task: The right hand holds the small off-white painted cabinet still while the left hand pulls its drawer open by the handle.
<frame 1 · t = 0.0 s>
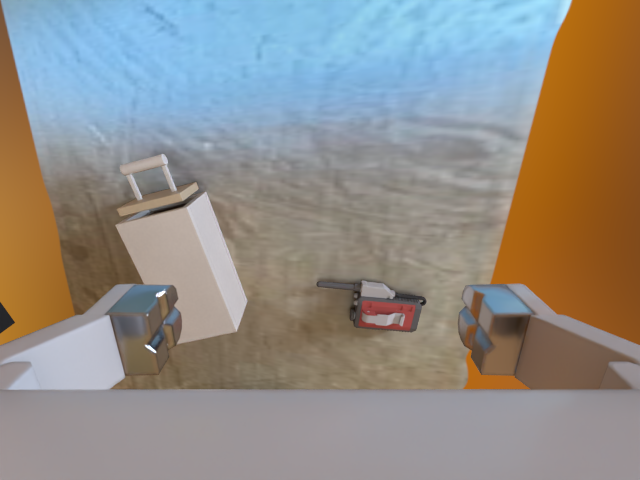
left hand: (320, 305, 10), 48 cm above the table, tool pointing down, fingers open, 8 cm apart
cabinet: (198, 256, 62), on the table
walkie-talkie: (368, 300, 66), on the table
drawer: (177, 238, 56), point 5 cm above the table, slide at 0.8 cm
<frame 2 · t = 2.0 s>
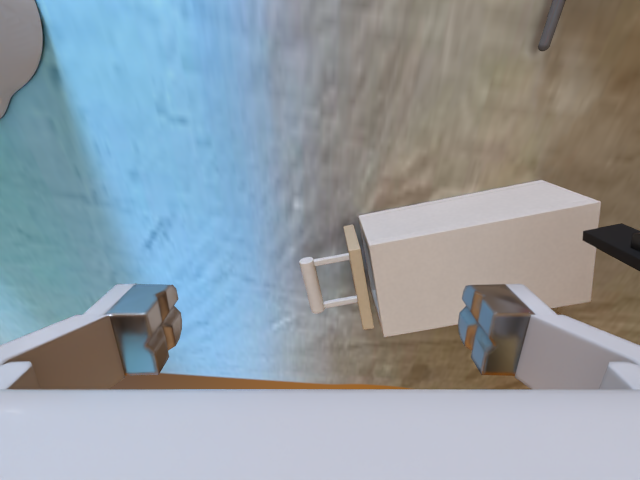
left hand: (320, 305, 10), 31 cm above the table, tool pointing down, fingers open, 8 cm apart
cabinet: (451, 239, 44), on the table
drawer: (417, 264, 40), point 5 cm above the table, slide at 0.8 cm
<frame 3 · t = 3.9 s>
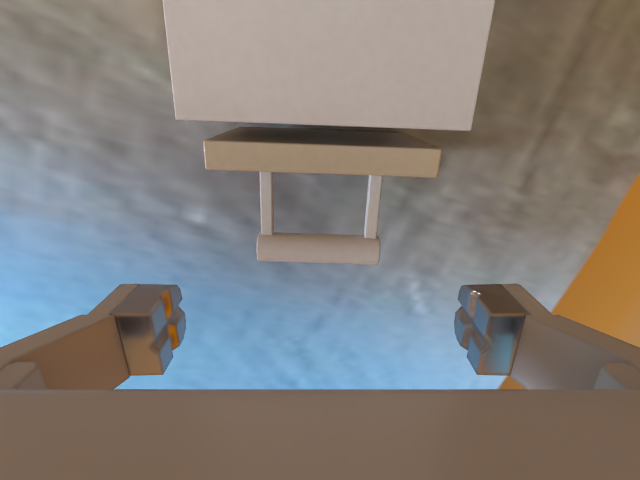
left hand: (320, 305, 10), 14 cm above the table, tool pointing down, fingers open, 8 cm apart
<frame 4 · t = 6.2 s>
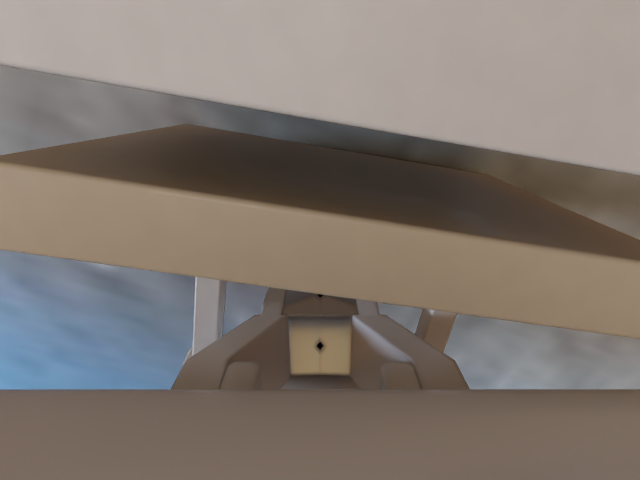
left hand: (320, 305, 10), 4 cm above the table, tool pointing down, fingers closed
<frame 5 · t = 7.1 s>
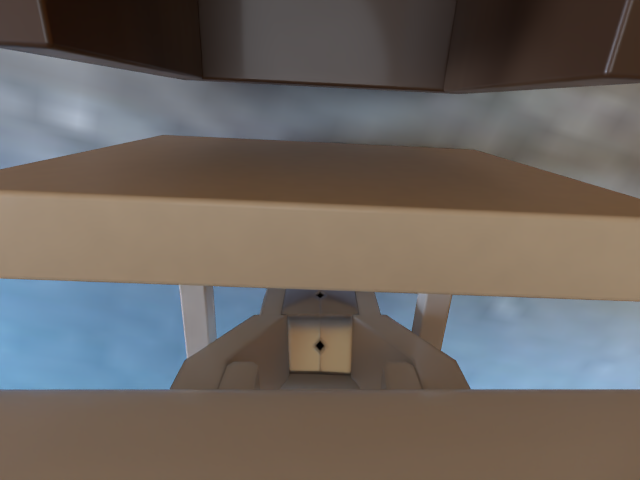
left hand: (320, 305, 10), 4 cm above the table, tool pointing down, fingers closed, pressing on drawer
when the right hand's fingers open (5 cm above the table, at t = 8.8 s): cabinet stays where it is, on the table.
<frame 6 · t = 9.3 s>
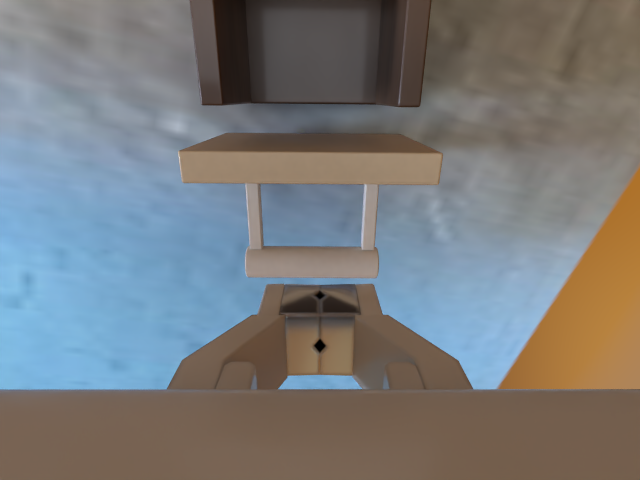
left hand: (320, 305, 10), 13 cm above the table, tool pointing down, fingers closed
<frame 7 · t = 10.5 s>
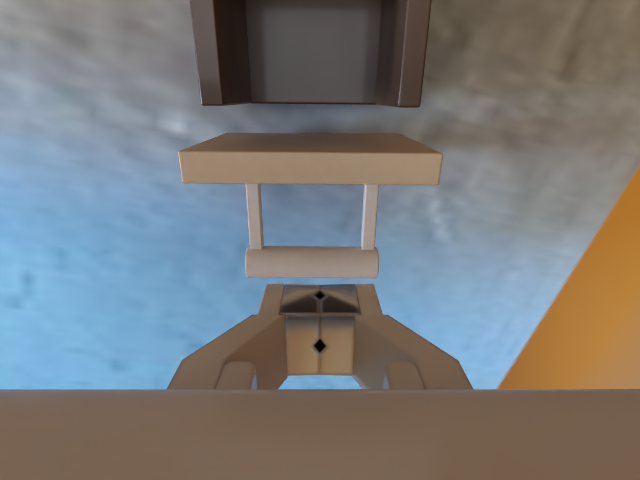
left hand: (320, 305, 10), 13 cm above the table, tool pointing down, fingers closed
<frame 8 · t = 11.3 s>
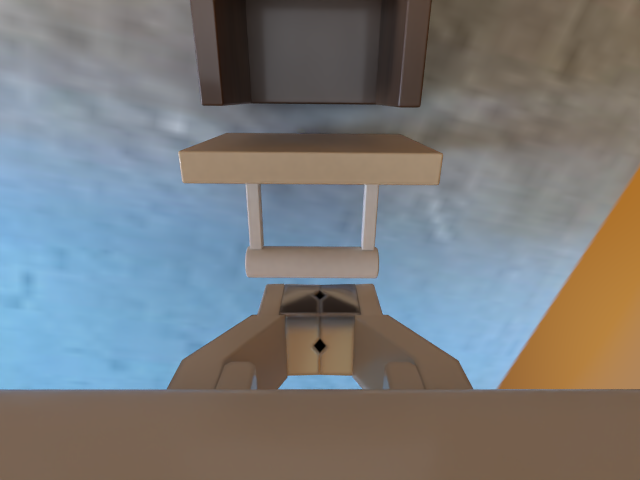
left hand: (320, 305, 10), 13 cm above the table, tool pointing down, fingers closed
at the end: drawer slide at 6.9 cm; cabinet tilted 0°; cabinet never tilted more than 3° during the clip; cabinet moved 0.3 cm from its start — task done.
